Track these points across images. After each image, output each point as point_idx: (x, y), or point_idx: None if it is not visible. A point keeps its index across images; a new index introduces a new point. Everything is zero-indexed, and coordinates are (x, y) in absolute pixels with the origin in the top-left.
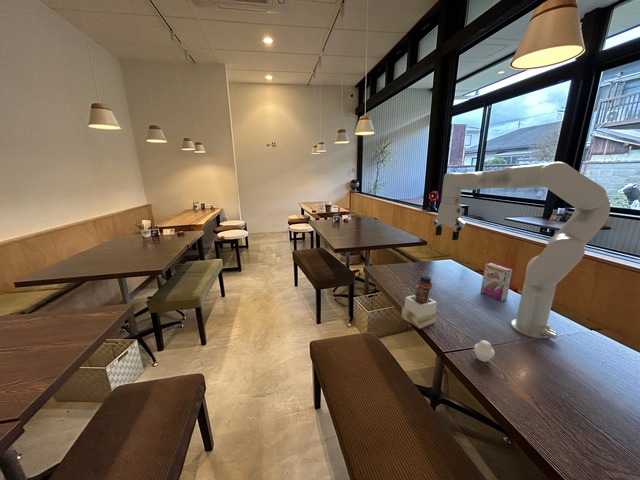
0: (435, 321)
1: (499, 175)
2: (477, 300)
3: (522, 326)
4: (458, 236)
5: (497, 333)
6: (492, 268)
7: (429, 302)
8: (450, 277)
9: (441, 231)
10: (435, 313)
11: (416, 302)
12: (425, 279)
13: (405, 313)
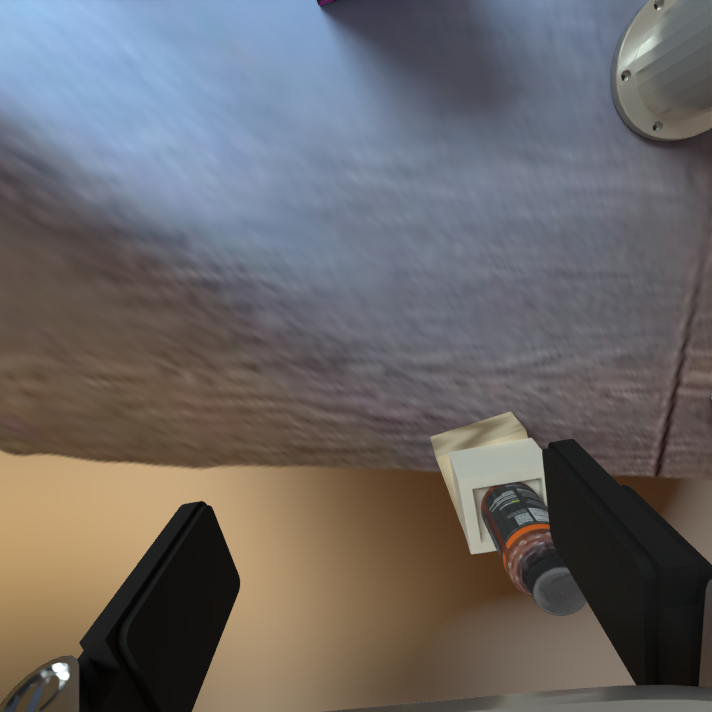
0: (511, 412)
1: None
2: (400, 106)
3: (699, 114)
4: (645, 506)
5: (649, 239)
6: None
7: (544, 493)
8: (98, 49)
9: (178, 553)
10: (526, 434)
11: None
12: (580, 603)
13: None
